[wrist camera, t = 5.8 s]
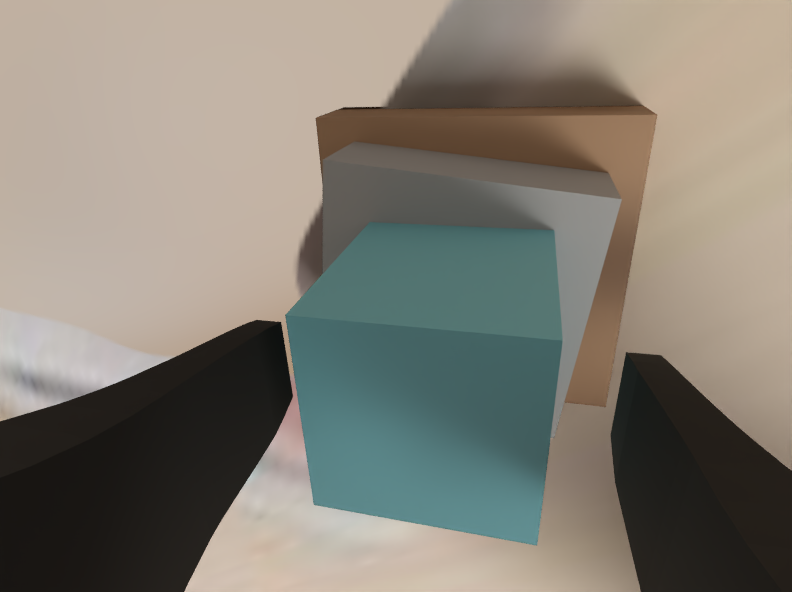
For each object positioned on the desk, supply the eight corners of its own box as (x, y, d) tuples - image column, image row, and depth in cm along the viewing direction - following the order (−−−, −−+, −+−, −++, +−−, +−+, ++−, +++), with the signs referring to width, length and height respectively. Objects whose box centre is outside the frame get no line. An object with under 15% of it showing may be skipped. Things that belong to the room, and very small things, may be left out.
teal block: (537, 387, 14) (537, 545, 10) (378, 369, 15) (314, 504, 11) (554, 230, 12) (562, 340, 8) (369, 222, 13) (285, 315, 9)
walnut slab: (597, 363, 19) (605, 406, 17) (362, 341, 21) (342, 376, 19) (639, 103, 15) (657, 114, 13) (343, 107, 17) (315, 117, 15)
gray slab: (552, 386, 17) (554, 438, 15) (348, 345, 18) (322, 387, 16) (608, 172, 13) (622, 199, 11) (354, 141, 15) (322, 159, 13)
